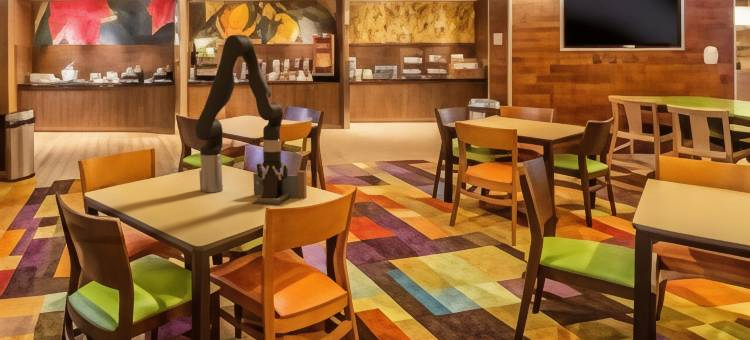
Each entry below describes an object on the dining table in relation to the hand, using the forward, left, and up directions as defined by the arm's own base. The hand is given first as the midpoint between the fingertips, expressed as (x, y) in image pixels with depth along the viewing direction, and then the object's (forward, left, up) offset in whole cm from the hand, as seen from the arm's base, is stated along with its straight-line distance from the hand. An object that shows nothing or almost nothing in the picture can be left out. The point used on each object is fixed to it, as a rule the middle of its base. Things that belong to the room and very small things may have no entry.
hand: (273, 187), depth 270 cm
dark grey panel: (+1, +6, -6) cm, 8 cm away
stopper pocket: (0, -2, -6) cm, 6 cm away
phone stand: (0, 0, -4) cm, 4 cm away
